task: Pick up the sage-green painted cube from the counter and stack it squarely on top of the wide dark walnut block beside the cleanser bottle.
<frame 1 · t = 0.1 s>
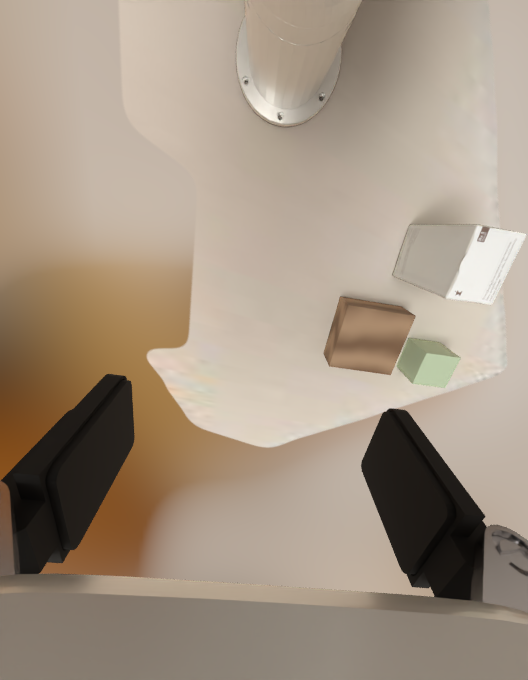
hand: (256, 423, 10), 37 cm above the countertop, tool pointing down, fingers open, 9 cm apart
walnut block: (360, 330, 49), on the countertop
sage cube: (417, 354, 51), on the countertop
skincare box: (415, 252, 43), on the countertop
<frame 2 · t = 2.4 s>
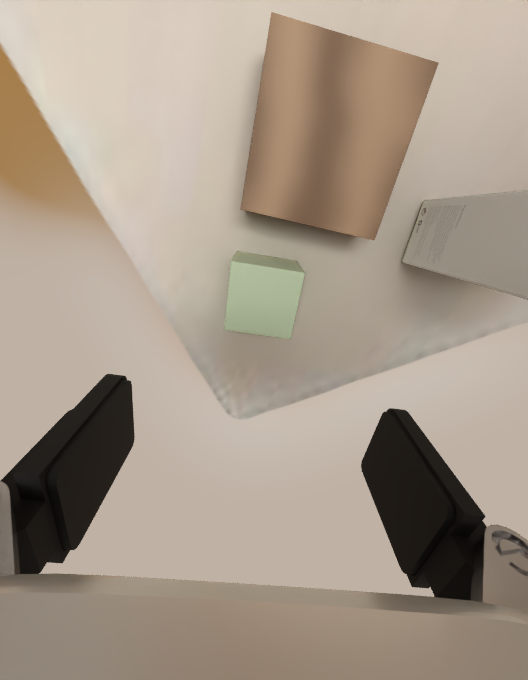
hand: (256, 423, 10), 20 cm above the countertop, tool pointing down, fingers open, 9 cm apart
walnut block: (317, 155, 24), on the countertop
sage cube: (262, 285, 28), on the countertop
skincare box: (450, 237, 27), on the countertop
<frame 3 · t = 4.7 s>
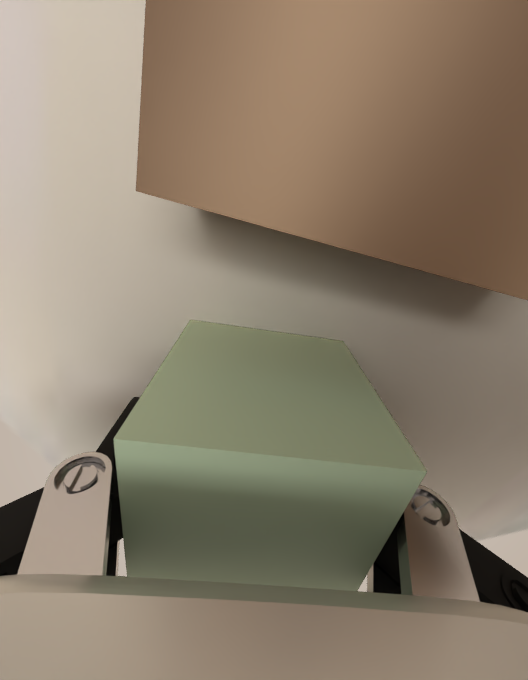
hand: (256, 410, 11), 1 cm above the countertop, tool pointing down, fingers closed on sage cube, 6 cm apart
walnut block: (433, 37, 7), on the countertop
sage cube: (257, 393, 12), on the countertop, touching gripper
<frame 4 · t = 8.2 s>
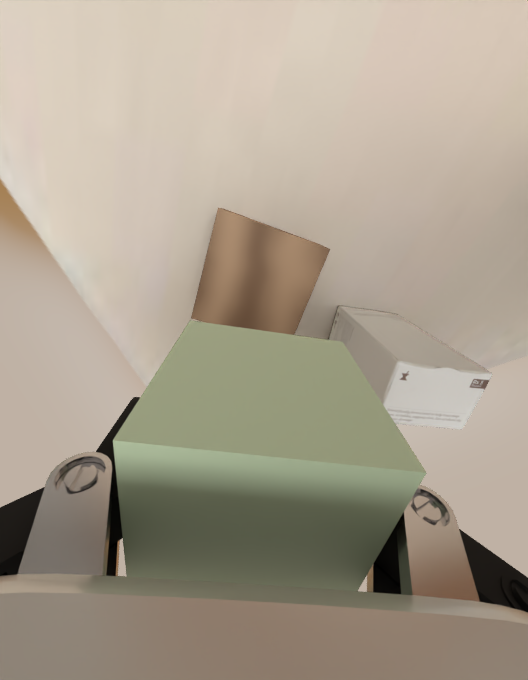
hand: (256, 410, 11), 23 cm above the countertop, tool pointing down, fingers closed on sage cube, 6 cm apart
walnut block: (257, 275, 32), on the countertop
sage cube: (256, 394, 12), point 22 cm above the countertop, touching gripper
skincare box: (362, 328, 35), on the countertop
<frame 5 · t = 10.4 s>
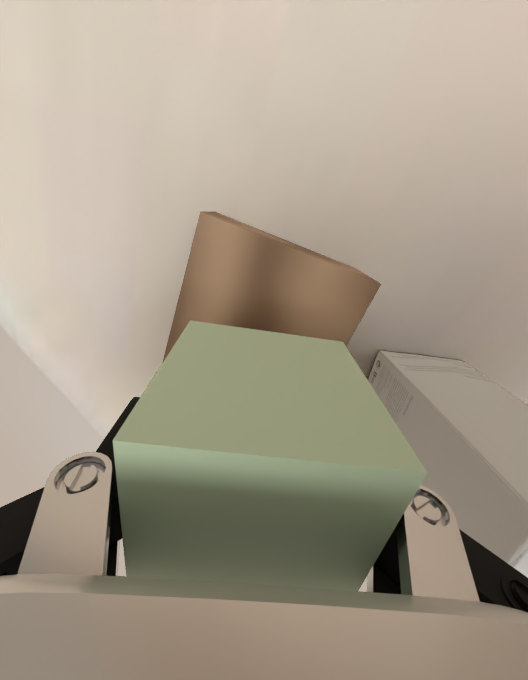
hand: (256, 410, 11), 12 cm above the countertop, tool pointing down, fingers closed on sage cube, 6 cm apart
walnut block: (261, 308, 22), on the countertop
sage cube: (257, 394, 12), point 11 cm above the countertop, touching gripper
skincare box: (410, 379, 25), on the countertop
when the fingers open (7 cm above the countertop, at t = 11.8 s): sage cube drops 2 cm, resting on walnut block.
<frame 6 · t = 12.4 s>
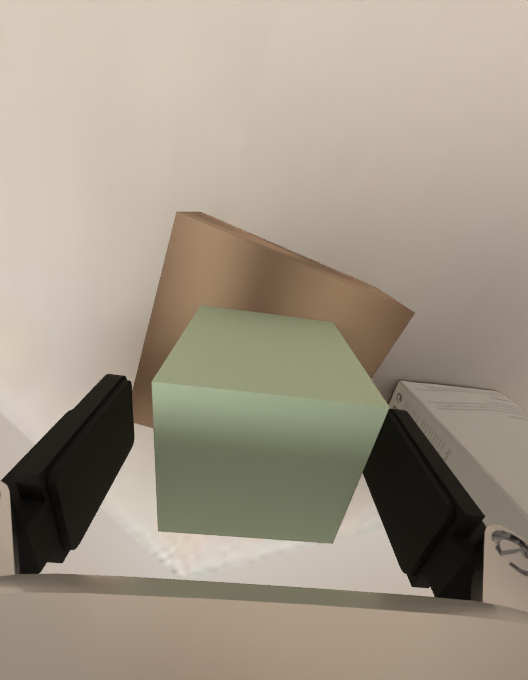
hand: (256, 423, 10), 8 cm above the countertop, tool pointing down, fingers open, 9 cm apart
walnut block: (257, 331, 18), on the countertop, touching sage cube
sage cube: (259, 370, 13), point 5 cm above the countertop, touching walnut block
skincare box: (435, 411, 21), on the countertop
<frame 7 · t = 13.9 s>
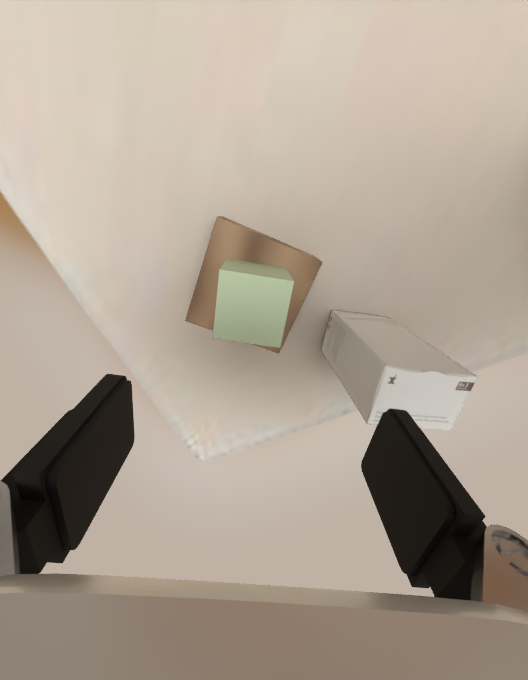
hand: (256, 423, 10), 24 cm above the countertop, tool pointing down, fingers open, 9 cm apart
walnut block: (251, 281, 33), on the countertop
sage cube: (252, 292, 28), point 5 cm above the countertop
skincare box: (356, 331, 36), on the countertop
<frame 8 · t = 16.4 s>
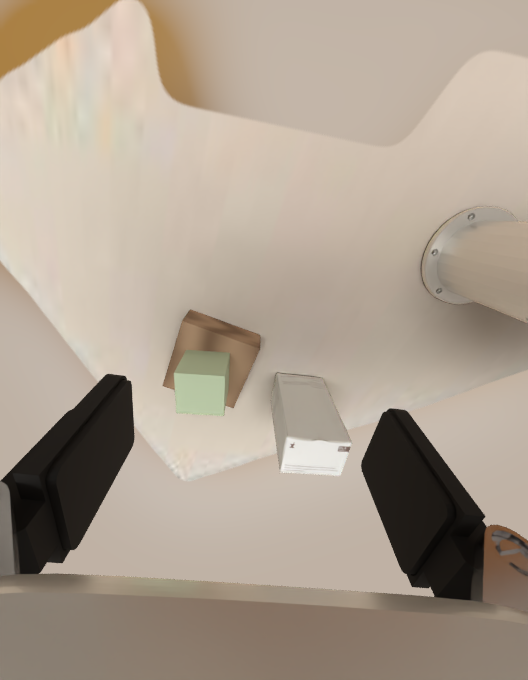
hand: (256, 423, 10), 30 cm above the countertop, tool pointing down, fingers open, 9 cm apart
walnut block: (215, 351, 43), on the countertop, touching sage cube
sage cube: (208, 369, 39), point 5 cm above the countertop, touching walnut block
skincare box: (297, 387, 46), on the countertop
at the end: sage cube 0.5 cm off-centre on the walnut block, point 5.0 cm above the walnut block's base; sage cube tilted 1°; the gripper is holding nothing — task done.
